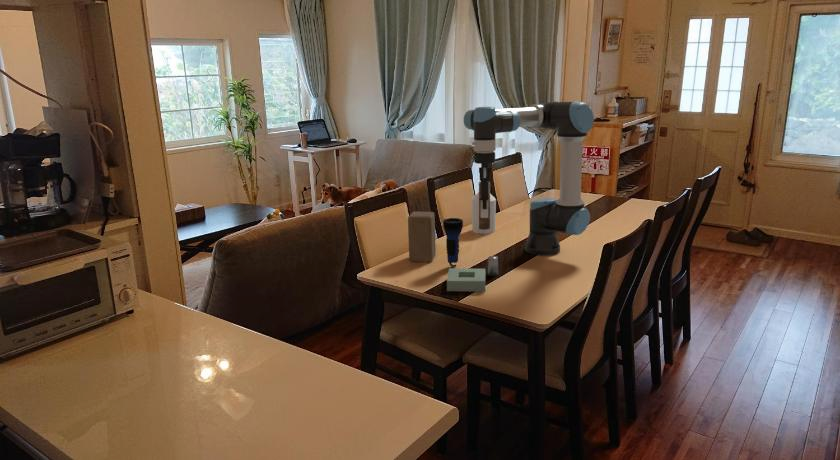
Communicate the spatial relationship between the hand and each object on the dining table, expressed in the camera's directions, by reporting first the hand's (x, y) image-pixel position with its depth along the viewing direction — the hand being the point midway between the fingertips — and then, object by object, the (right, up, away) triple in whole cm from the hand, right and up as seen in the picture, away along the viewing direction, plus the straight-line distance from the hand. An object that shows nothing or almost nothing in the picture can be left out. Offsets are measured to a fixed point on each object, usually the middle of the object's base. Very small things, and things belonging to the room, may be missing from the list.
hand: (484, 215), depth 215 cm
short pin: (+6, -23, +19) cm, 30 cm away
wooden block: (-22, -18, +41) cm, 50 cm away
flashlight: (-9, -21, +29) cm, 37 cm away
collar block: (-6, -26, +9) cm, 28 cm away
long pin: (0, -5, +1) cm, 5 cm away
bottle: (+9, -6, +82) cm, 83 cm away
